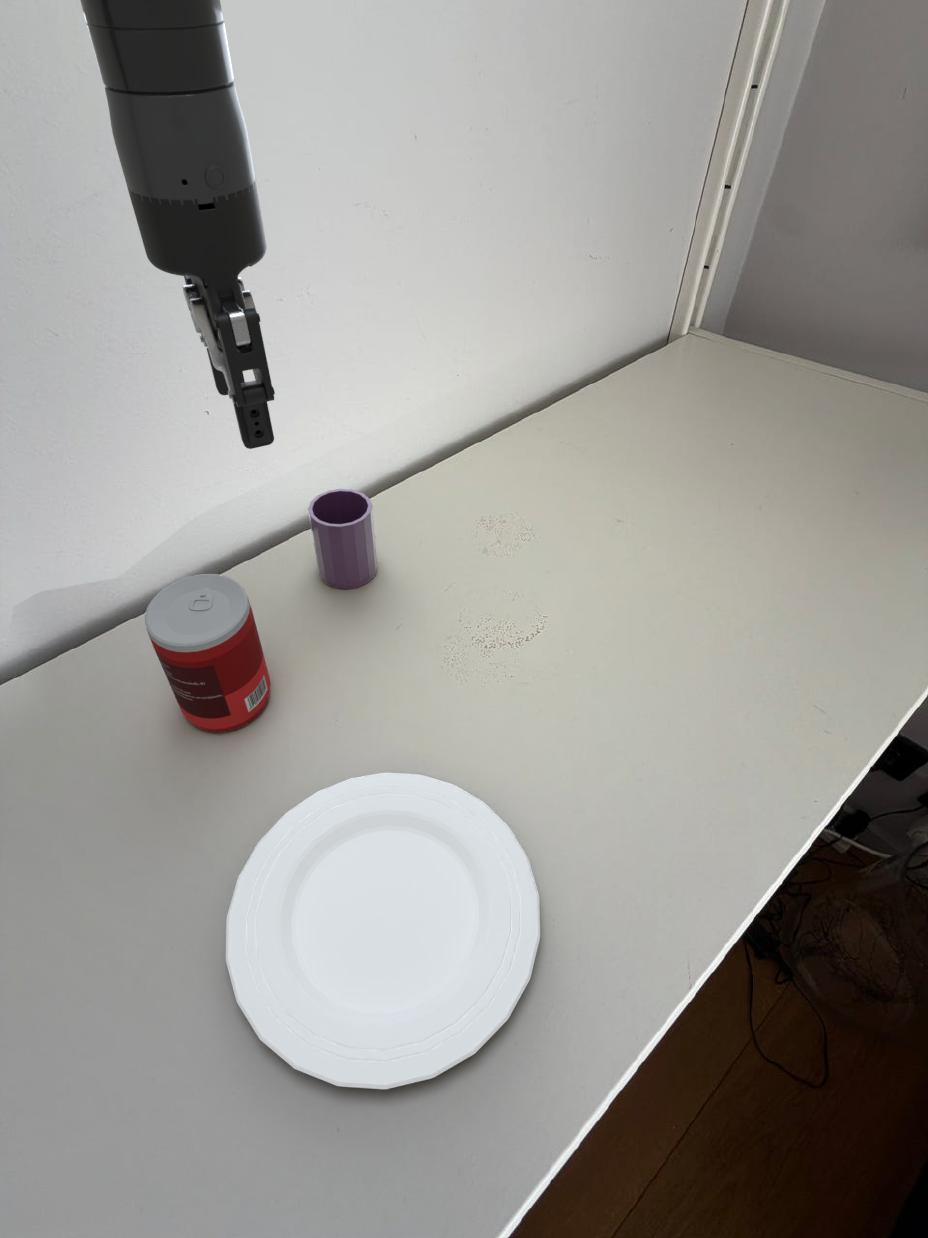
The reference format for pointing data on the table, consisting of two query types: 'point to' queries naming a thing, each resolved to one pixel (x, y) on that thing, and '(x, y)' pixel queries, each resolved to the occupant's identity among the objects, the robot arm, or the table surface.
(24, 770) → the table surface
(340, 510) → the cup
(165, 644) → the canned food
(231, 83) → the robot arm
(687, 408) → the table surface
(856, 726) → the table surface
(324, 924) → the plate
